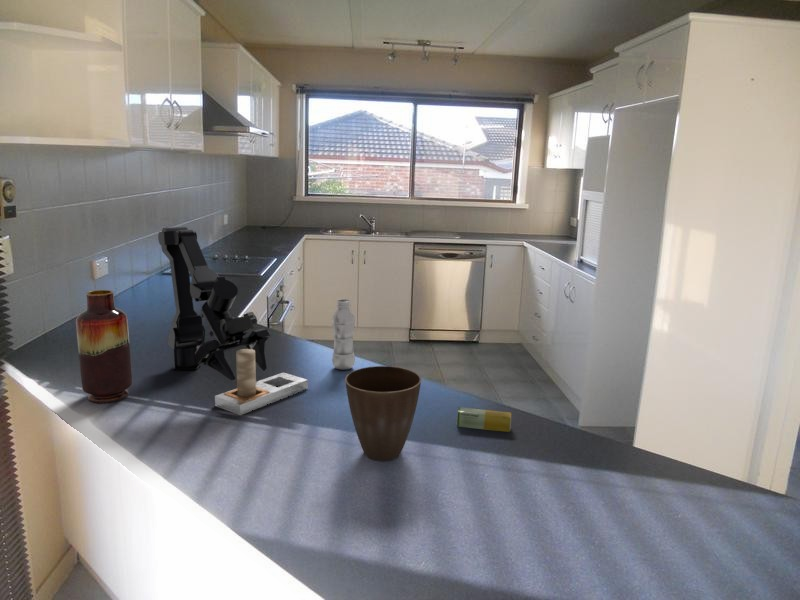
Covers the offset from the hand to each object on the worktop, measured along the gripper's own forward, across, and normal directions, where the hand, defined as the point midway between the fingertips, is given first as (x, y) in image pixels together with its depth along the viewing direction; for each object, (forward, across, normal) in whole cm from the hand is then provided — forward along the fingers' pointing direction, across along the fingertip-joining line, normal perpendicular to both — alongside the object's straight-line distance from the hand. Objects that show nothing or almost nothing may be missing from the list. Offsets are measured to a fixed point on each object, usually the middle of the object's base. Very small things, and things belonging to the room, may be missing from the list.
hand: (249, 374), depth 142 cm
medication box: (+40, +27, -29) cm, 56 cm away
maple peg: (+4, 0, +6) cm, 8 cm away
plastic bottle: (+4, +34, +7) cm, 35 cm away
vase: (-15, -20, +26) cm, 37 cm away
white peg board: (+4, +5, +6) cm, 9 cm away
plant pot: (+34, +2, -23) cm, 41 cm away
